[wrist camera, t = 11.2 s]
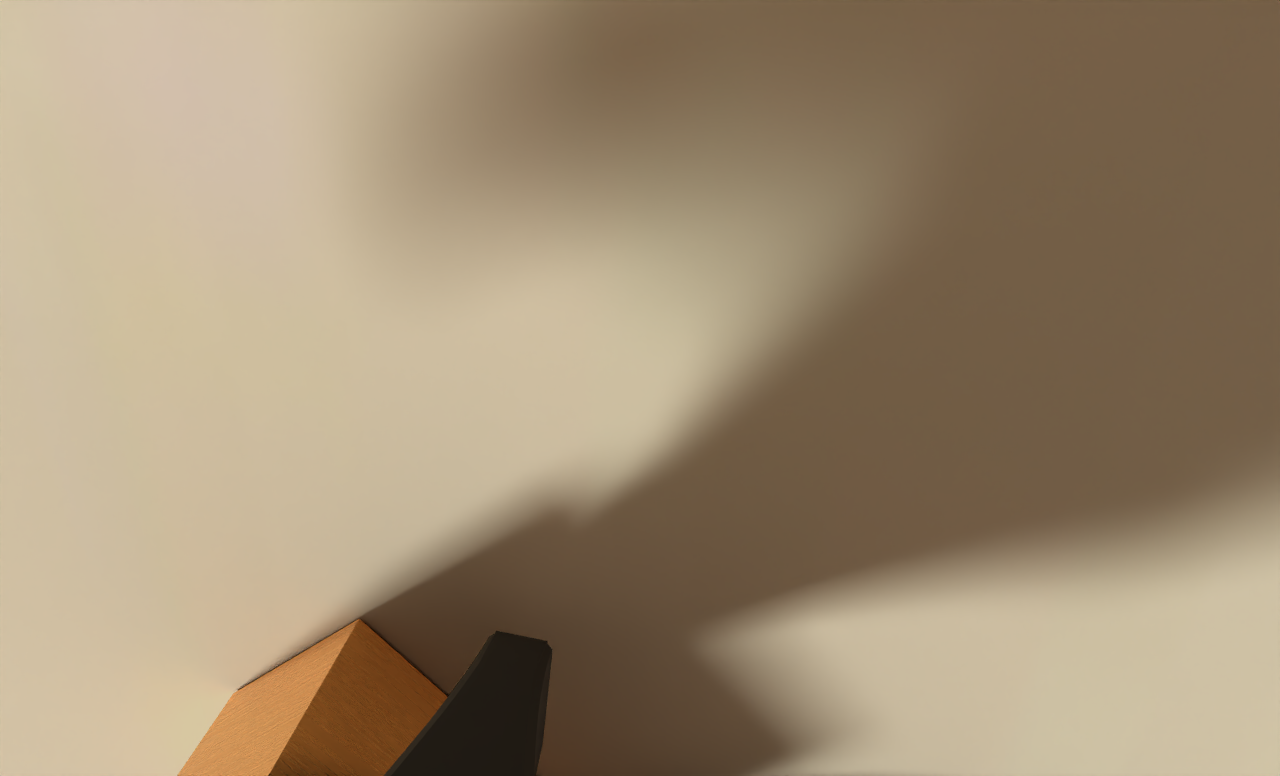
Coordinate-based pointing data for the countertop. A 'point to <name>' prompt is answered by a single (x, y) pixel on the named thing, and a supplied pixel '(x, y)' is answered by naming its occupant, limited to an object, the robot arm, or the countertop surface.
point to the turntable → (322, 713)
